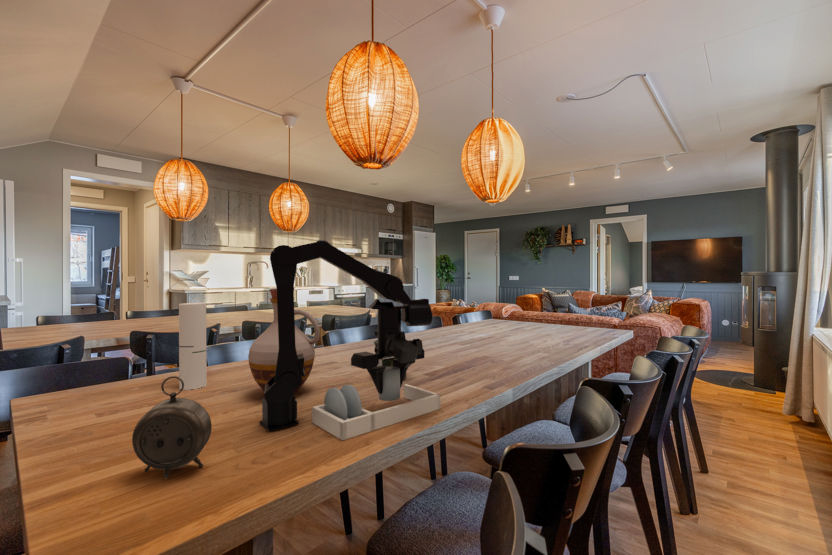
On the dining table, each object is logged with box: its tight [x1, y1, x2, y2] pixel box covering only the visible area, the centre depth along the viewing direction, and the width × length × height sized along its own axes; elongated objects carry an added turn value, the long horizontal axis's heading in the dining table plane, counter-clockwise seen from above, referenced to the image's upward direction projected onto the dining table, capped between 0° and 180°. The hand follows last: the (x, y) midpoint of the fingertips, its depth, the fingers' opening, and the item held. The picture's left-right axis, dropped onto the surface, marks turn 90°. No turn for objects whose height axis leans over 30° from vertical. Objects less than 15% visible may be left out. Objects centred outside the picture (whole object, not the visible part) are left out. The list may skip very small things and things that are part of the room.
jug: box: [247, 286, 321, 395], centre depth 111 cm, size 20×18×30 cm
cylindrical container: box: [178, 302, 208, 391], centre depth 117 cm, size 7×7×25 cm
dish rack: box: [311, 383, 442, 441], centre depth 92 cm, size 28×13×9 cm, turn 132°
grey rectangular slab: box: [378, 366, 401, 402], centre depth 95 cm, size 5×5×7 cm
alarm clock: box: [131, 375, 212, 479], centre depth 65 cm, size 11×5×16 cm, turn 102°
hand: (389, 391), depth 95 cm, fingers closed on grey rectangular slab, 5 cm apart
